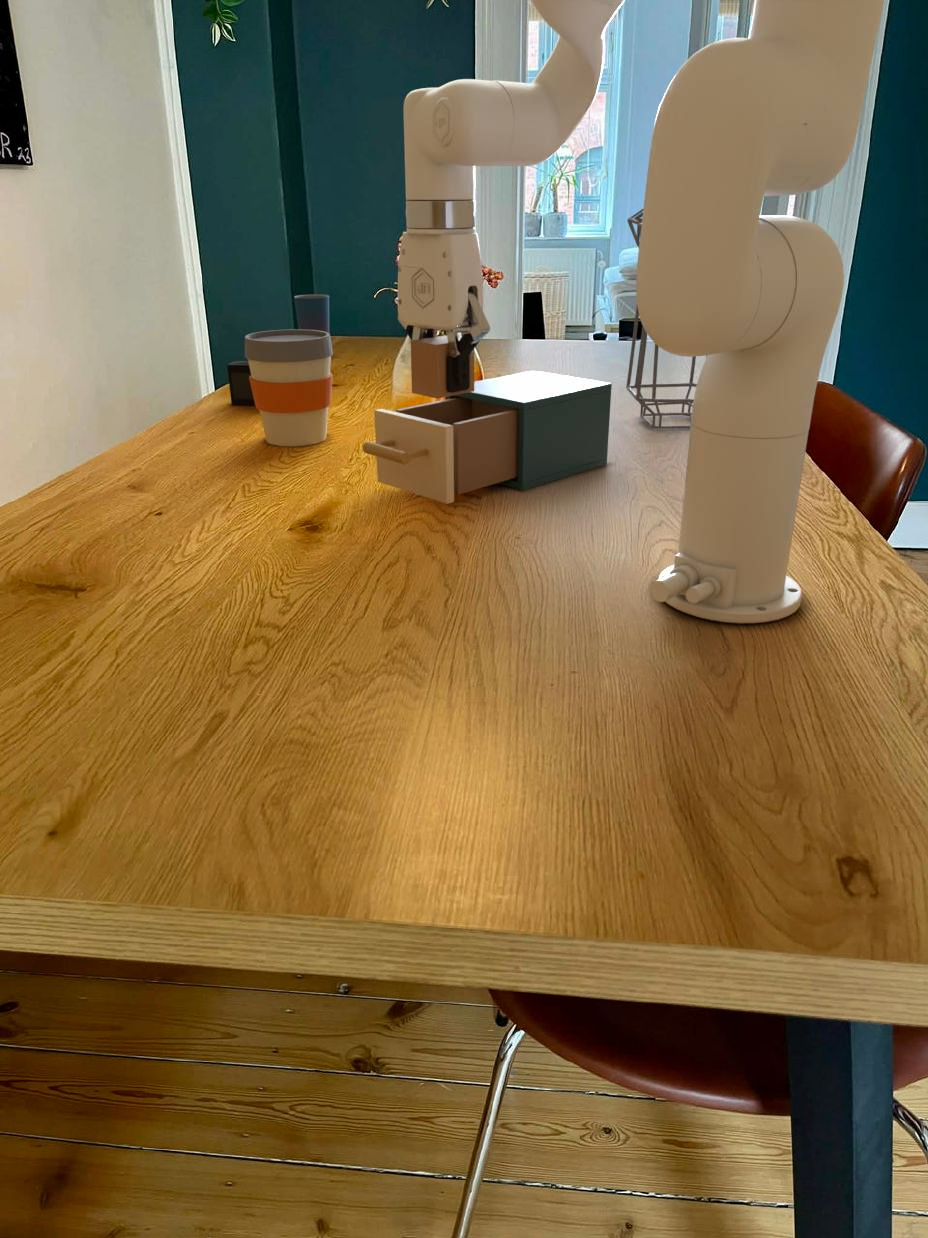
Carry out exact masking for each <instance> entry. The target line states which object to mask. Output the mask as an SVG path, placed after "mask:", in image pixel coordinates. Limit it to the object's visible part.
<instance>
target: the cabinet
mask: <svg viewBox="0 0 928 1238" xmlns="http://www.w3.org/2000/svg"><path fill="white" fill-rule="evenodd" d="M612 386H613V383H611V382H606V381H600V380H594V379H588V378H581V377H575V376H570V375H563V374H557V373H551V372H547V371H541V370H534V369H533V370H528V371H523V372H517V373H513V374H507V375H502V376H501V375H500V376H496V377H491V378H486V379H485V378H484V379H480V380H475V382H474V391H473V392H468V393H463V394H458V395H453V396H448V397H444V398H445V399H444V400H446V399H451V398H456V397H462V398H467V399H472V400H477V401H482V402H487V403H492V404H496V405H501V406H506V407H511V408H516V409H519V434H518V477H516V478H513V479H509V480H506V481H503V482H499V483H497V484H498V485H502V486H506V487H509V488H512V489H514V490H515V489H516V490H519V491H526V490H528V489H532V488H536V487H538V486H542V485H545V484H548V483H551V482H554V481H555V482H556V481H558V480H560V479H564V478H568V477H570V476H574V475H578V474H580V473H584V472H587V471H590V470H594V469H597V468H600V467H602V466H606V465H608V450H609V436H610V435H609V434H610V433H609V432H610V417H611V403H612V402H611V401H612V388H613V387H612Z"/></svg>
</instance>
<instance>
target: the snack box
mask: <svg viewBox="0 0 928 1238" xmlns="http://www.w3.org/2000/svg"><path fill="white" fill-rule="evenodd" d="M461 338H462V336H458V341H459V340H460V339H461ZM449 356H451V355H450V350H449V344H448V338H447V335H441V336H436V337H433V338H426V339H419V340H412V341H411V340H410V368H411V369H410V370H411V373H410V374H411V375H410V376H411V393H412V394H414V395H419V396H424V397H428V398H432V399H442V398H445V397H448V396H453V395H458V394H463V393H468V392H473V391H474V380H475V352H474V353H473V354H472V355H470V387H469V389H468V390H463V391H458V392H453V393H451V392H448V391H447V376H446V357H449Z"/></svg>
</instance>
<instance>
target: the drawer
mask: <svg viewBox="0 0 928 1238" xmlns="http://www.w3.org/2000/svg"><path fill="white" fill-rule="evenodd" d="M373 410H374V411H373V413H374V432H375V433H374V434H375V436H374V437H375V442H374V441H373V442H372V441H365V442H364V443H363V445H362V451H363V452H364V454H368V455H372V456H374V457H376V473H377V474H376V475H377V482H378V483H380V484H383V485H386V486H390V487H393V488H396V489H399V490H402V491H405V492H409V493H411V494H414V495H417V496H421V497H424V498H427V499H430V500H433V501H436V502H440V503H443V504H446V505H448V504H452V503H454V502H455V495H461V494H466V493H469V492H472V491H476V490H478V489H482V488H486V487H489V486H492V485H495V484H498V483H499V482H503V481H506V480H509V479H513V478H516V477H518V434H519V409H516V408H511V407H506V406H501V405H496V404H492V403H487V402H482V401H477V400H472V399H467V398H462V397H456V398H451V399H446V400H445V399H441V400H438V401H437V400H436V401H432V402H427V403H421V404H417V405H412V406H408V407H403V408H398V409H394V410H395V411H393V410H390V409H385V408H378V409H373Z"/></svg>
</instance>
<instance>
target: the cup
mask: <svg viewBox="0 0 928 1238" xmlns="http://www.w3.org/2000/svg"><path fill="white" fill-rule="evenodd" d="M293 299H294V306H295V313H296V321H297V329H298V330H318V331H324V332H328V333H329V334H330V295H328V294H300V295H295V296H293Z"/></svg>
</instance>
